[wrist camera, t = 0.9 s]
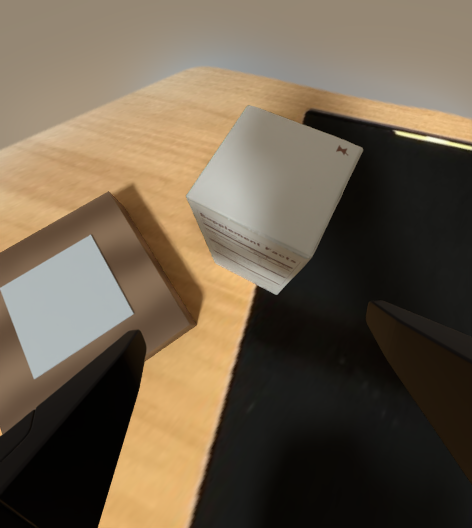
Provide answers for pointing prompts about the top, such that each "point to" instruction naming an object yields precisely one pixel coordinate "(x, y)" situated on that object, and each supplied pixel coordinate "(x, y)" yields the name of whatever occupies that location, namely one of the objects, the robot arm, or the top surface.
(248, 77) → the top surface
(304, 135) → the supplement box
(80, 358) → the plinth
